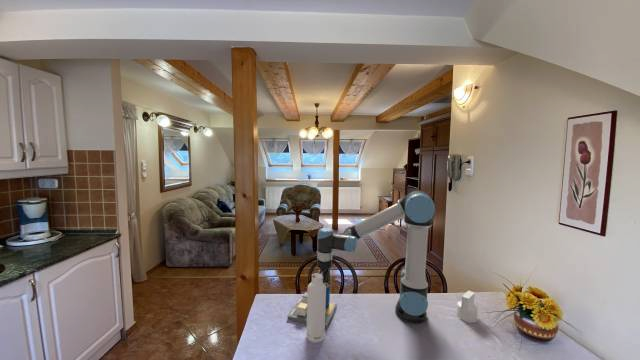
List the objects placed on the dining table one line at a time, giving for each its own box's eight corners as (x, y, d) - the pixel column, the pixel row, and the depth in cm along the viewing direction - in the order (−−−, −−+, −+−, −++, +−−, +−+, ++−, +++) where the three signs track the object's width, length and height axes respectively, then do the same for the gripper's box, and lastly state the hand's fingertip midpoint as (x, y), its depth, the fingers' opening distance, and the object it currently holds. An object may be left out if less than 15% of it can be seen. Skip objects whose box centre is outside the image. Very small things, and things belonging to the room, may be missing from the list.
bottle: (318, 345, 110) (320, 282, 107) (302, 338, 114) (304, 277, 111) (327, 333, 117) (329, 274, 114) (312, 327, 121) (313, 269, 118)
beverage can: (325, 312, 129) (325, 289, 128) (314, 307, 133) (314, 285, 131) (331, 305, 135) (332, 283, 133) (321, 301, 138) (321, 280, 137)
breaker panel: (336, 307, 137) (336, 303, 137) (326, 329, 120) (327, 324, 120) (301, 300, 143) (301, 296, 143) (287, 319, 126) (287, 315, 126)
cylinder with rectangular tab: (472, 325, 126) (475, 301, 125) (453, 316, 133) (455, 293, 132) (479, 317, 132) (481, 295, 131) (460, 309, 139) (462, 288, 138)
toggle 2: (312, 300, 139) (312, 293, 138) (309, 304, 135) (309, 297, 135) (305, 299, 140) (305, 292, 140) (302, 303, 136) (302, 295, 136)
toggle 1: (307, 311, 129) (308, 304, 129) (304, 316, 125) (305, 308, 125) (300, 310, 130) (300, 302, 130) (297, 314, 126) (297, 306, 126)
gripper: (323, 250, 143) (322, 289, 145) (310, 266, 122) (309, 311, 124) (337, 252, 140) (335, 292, 143) (325, 268, 120) (324, 315, 122)
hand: (323, 301), depth 134 cm, fingers open, 9 cm apart
